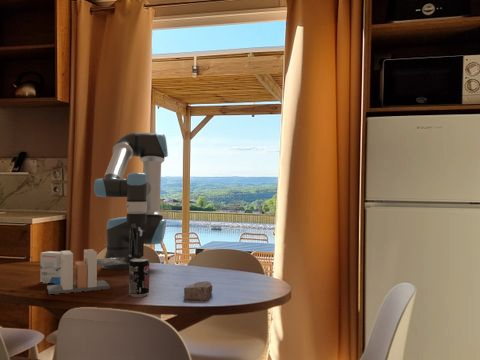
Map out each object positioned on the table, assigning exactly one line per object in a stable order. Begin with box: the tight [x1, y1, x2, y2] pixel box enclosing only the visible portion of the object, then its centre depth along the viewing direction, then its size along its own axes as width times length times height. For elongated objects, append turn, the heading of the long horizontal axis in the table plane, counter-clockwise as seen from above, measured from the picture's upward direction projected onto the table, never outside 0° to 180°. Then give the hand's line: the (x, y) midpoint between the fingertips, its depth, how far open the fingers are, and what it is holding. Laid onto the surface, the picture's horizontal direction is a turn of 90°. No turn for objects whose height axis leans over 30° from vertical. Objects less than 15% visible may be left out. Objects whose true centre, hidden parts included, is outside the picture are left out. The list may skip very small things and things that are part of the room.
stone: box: [183, 281, 213, 301], centre depth 143 cm, size 12×9×5 cm
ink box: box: [39, 250, 61, 285], centre depth 163 cm, size 9×5×12 cm, turn 71°
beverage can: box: [128, 257, 150, 298], centre depth 144 cm, size 7×7×12 cm
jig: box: [46, 248, 110, 296], centre depth 153 cm, size 20×10×13 cm, turn 119°
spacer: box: [74, 260, 87, 288], centre depth 153 cm, size 3×8×8 cm, turn 29°
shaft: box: [97, 254, 135, 267], centre depth 159 cm, size 19×4×4 cm, turn 119°
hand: (135, 273), depth 163 cm, fingers closed on shaft, 4 cm apart
